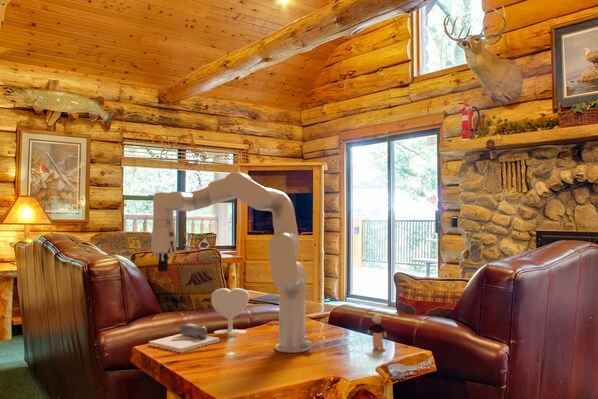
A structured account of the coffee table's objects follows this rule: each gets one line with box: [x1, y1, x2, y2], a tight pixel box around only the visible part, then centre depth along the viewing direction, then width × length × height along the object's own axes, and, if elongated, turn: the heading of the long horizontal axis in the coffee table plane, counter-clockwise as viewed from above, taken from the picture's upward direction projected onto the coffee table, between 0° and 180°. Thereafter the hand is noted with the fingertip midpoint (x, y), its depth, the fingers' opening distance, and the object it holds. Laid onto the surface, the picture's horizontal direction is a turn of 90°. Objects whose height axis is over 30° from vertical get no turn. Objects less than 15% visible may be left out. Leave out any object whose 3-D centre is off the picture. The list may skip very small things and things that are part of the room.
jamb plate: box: [148, 323, 221, 354], centre depth 186 cm, size 18×19×6 cm
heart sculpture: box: [210, 287, 250, 334], centre depth 206 cm, size 16×5×18 cm, turn 91°
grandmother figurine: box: [366, 313, 388, 353], centre depth 175 cm, size 8×4×13 cm, turn 65°
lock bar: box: [179, 323, 208, 339], centre depth 190 cm, size 14×3×4 cm, turn 53°
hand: (162, 271), depth 191 cm, fingers closed
